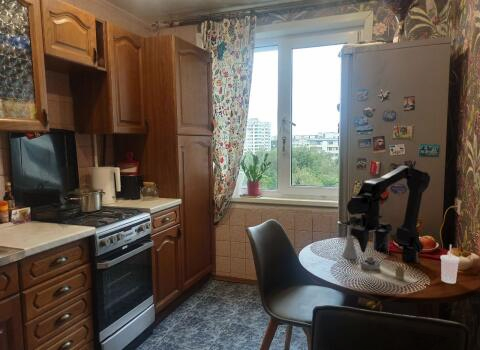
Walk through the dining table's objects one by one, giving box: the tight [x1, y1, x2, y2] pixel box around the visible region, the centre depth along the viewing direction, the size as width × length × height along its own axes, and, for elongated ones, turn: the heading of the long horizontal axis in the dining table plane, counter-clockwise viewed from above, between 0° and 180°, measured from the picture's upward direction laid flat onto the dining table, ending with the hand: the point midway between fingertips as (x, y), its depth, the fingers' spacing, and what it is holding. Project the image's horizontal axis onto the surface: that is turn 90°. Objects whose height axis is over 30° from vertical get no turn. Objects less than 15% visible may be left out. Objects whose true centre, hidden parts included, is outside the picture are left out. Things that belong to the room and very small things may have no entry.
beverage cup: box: [439, 244, 461, 284], centre depth 125 cm, size 6×6×14 cm
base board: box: [350, 255, 421, 288], centre depth 130 cm, size 12×22×6 cm, turn 32°
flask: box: [341, 235, 358, 260], centre depth 149 cm, size 7×7×10 cm
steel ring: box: [359, 258, 381, 271], centre depth 136 cm, size 7×7×2 cm
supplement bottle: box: [372, 231, 390, 253], centre depth 160 cm, size 7×7×12 cm
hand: (370, 250), depth 135 cm, fingers open, 9 cm apart
